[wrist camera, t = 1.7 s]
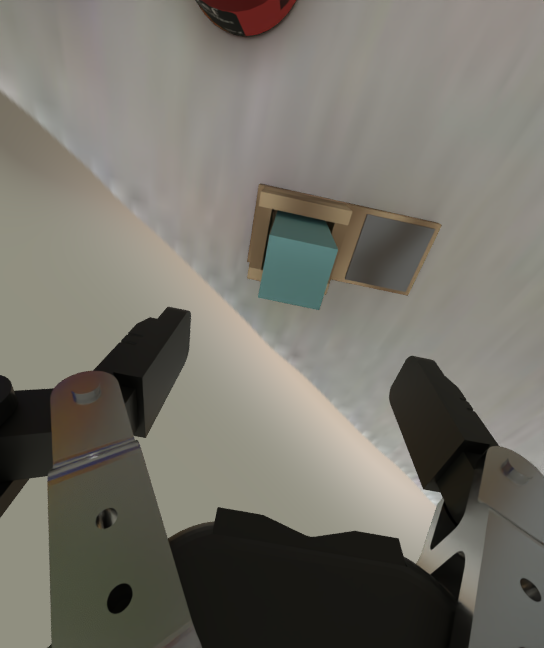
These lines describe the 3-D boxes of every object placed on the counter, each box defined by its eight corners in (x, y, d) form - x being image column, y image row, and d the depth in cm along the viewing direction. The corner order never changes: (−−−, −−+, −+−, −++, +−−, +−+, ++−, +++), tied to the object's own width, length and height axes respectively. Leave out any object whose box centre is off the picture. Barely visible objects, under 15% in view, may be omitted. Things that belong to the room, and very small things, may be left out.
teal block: (323, 217, 25) (338, 249, 16) (311, 260, 27) (319, 310, 18) (278, 207, 25) (269, 234, 16) (270, 251, 27) (258, 297, 18)
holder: (436, 222, 25) (465, 236, 21) (404, 291, 29) (423, 315, 25) (260, 183, 25) (252, 189, 21) (248, 258, 28) (240, 276, 24)
